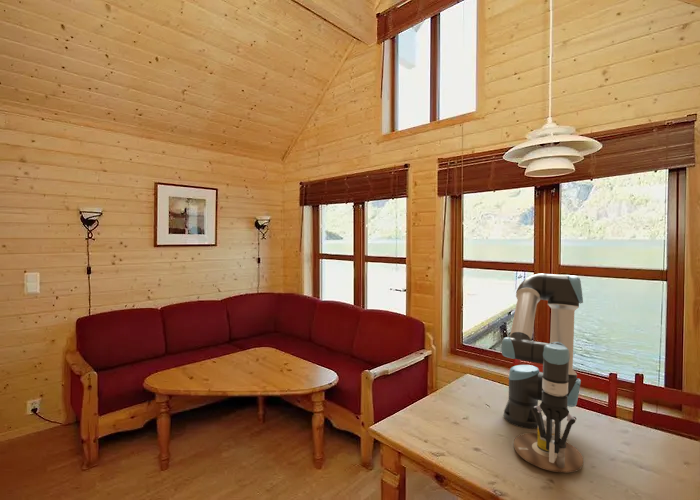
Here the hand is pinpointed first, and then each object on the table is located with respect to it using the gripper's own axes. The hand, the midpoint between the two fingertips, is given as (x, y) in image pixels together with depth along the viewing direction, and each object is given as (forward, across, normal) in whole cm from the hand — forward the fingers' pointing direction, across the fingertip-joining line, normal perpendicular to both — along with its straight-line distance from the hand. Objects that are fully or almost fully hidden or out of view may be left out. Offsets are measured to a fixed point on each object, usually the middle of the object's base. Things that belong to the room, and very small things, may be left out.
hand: (552, 460), depth 122 cm
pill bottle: (+2, -4, +10) cm, 11 cm away
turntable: (+3, -4, +10) cm, 11 cm away
